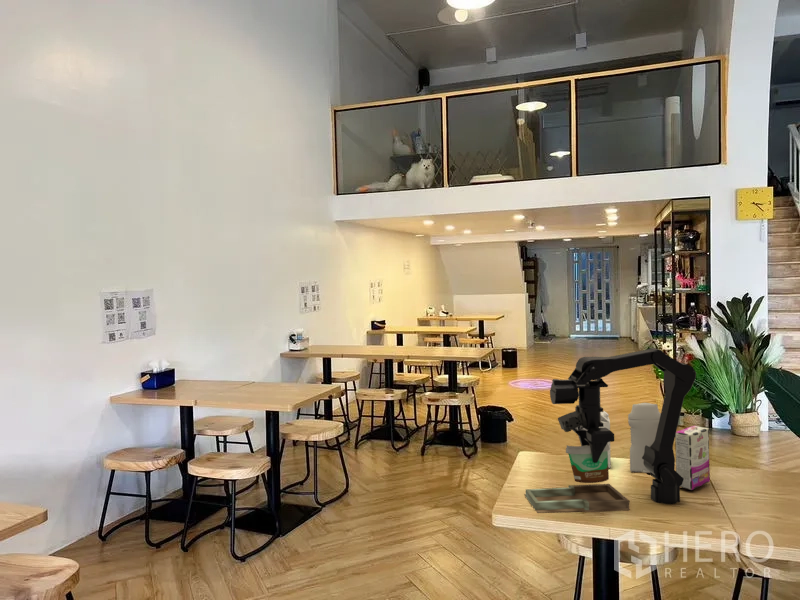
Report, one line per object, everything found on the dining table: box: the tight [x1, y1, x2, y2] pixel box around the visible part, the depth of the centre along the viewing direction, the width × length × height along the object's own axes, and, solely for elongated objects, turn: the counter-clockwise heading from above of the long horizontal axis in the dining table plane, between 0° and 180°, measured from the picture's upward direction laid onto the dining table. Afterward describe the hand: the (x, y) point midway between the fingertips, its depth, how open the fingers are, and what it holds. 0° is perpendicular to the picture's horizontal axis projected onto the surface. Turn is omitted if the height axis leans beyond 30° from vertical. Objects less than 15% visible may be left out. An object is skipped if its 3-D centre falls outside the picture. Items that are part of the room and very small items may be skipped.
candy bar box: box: [674, 425, 711, 491], centre depth 172 cm, size 11×5×16 cm, turn 126°
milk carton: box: [599, 410, 612, 469], centre depth 192 cm, size 7×7×19 cm
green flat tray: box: [524, 483, 630, 514], centre depth 160 cm, size 25×13×2 cm, turn 93°
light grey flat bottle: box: [627, 402, 661, 474], centre depth 184 cm, size 11×4×22 cm, turn 87°
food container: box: [565, 443, 611, 484], centre depth 159 cm, size 12×6×10 cm, turn 95°
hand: (590, 458), depth 160 cm, fingers closed on food container, 6 cm apart
